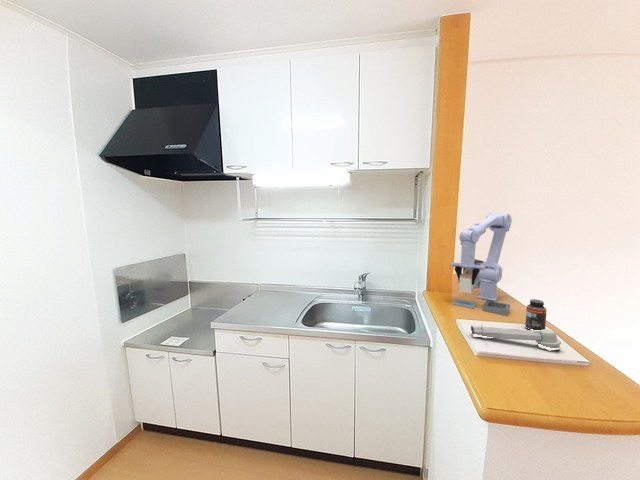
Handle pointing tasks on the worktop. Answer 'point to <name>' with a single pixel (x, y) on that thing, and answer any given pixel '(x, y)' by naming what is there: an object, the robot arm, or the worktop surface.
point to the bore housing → (496, 307)
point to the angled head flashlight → (519, 335)
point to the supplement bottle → (535, 315)
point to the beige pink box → (465, 283)
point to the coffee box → (469, 271)
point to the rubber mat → (464, 303)
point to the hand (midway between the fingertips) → (466, 283)
